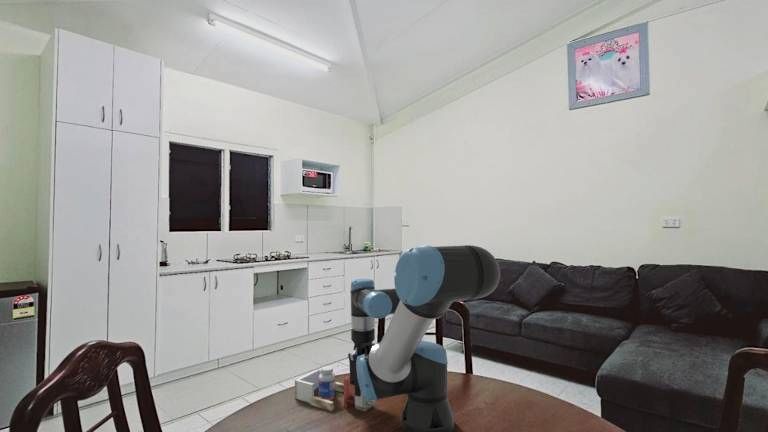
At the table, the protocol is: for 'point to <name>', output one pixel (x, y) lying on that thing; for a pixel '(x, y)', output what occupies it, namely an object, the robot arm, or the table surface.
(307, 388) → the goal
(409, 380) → the robot arm
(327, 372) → the pill bottle
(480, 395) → the table surface
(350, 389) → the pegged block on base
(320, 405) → the lane rails
